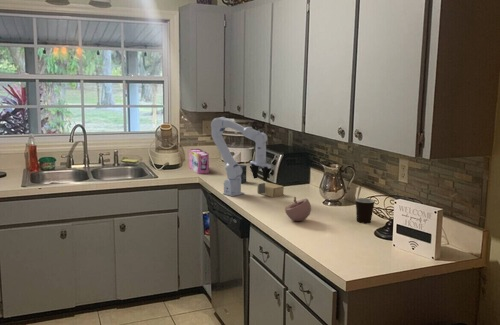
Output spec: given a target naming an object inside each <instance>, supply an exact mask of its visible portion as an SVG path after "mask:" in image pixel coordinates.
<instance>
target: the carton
mask: <svg viewBox="0 0 500 325" xmlns="http://www.w3.org/2000/svg"><path fill="white" fill-rule="evenodd" d="M264 183H265V182H264ZM265 187H268V188H272V189H274V194H273V197H272V198H276V197H280V196H284V193H285V192H284V185H279V184H277V183H272V182H266V183H265Z"/></svg>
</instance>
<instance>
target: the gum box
mask: <svg viewBox="0 0 500 325" xmlns="http://www.w3.org/2000/svg"><path fill="white" fill-rule="evenodd" d="M188 154H189V155H188V163H189V166H188V167H189V169H191V170H192V171H194V172H195V173H196V174H198V175H200V174H201V175H203V174H209V173H210V172H209V171H210V156H209V155H210V154H209V152H207V151H204V150H202V149H201V148H189V150H188Z"/></svg>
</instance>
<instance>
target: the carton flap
mask: <svg viewBox="0 0 500 325" xmlns="http://www.w3.org/2000/svg"><path fill="white" fill-rule="evenodd" d="M258 194H259V195H264V196H267V197H271V198H274V197H273V194H274V189H272V188H268V187H265V182H263V183H262V182H261V183H258V185H257V195H258Z"/></svg>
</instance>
